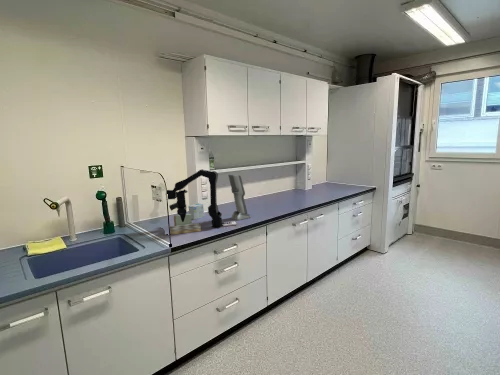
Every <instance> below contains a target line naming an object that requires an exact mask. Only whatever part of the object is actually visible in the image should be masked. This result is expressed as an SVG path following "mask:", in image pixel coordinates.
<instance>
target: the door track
mask: <svg viewBox="0 0 500 375" xmlns="http://www.w3.org/2000/svg"><path fill="white" fill-rule="evenodd" d="M169 227H170V234H171V235H179V234H189V233H196V232H202V226H201V222H200V223H192V224H189V225H180V226H175V225H172V226H169Z"/></svg>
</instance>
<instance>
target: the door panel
mask: <svg viewBox="0 0 500 375" xmlns="http://www.w3.org/2000/svg"><path fill="white" fill-rule="evenodd" d="M173 221H174V222H173V224H174V225H173V226H180V225H189V224H193V223H192V219H191V214H189V213H186V216H185V219H184V222H182V220H181V217H180V215H179V214H176V215H173Z"/></svg>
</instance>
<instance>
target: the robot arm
mask: <svg viewBox="0 0 500 375" xmlns="http://www.w3.org/2000/svg"><path fill="white" fill-rule="evenodd" d="M200 177H204V178H207V179H208V183H209V185H210V186H209V189H210V190H209V191H210V204H209V206H208V207H207V210H208V211H207V213H208V216H209V217H211V219H212V220H211V227H210V228H215V229H216V228H217V229H219V228H221V227H223V226H224V224H223V219H222V215H223V214H222V212H220V210H219V206H218V204H217V202H218V200H217V183H218V178H219V173H218V172H217V171H215V170H211V171H210V170H205V169H199V170H197V171H196V172H194V173H193V174H192V175H190V176H188V177H187V178H185V179H182V180H179V181H177V182H175V184H174V187H173V189H167V194H168V199H167V200H175V199H176V202H174V203H173V204H170V205H168V206H169V209H170V211H173V210H175V209H176V213H177V214H176V215H180V217H181V220H182V222H184V219H185V216H186V214H188V212H187V204H186V203H187V202H186V194H187V193H189V192H188V190H187V189H186V187H187V186H188V185H189V184H190V183H192V182H193V181H195V180H197V179H198V178H200Z"/></svg>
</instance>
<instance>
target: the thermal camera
mask: <svg viewBox="0 0 500 375" xmlns="http://www.w3.org/2000/svg"><path fill="white" fill-rule="evenodd" d="M228 180H229V183H230V189H231V194H233V199H234V205H235V209H236V210H235V211H234V212H233V214H232V215H231V219H232V220H235V221H241V220H246V219H251V215H250V214H249V213H248V210H247V206H246V202H245V198H244V197H245V195H246V191H245V188H244V187H245V186H244V184H243V180H242V176H241V175H240V174H228Z"/></svg>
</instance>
